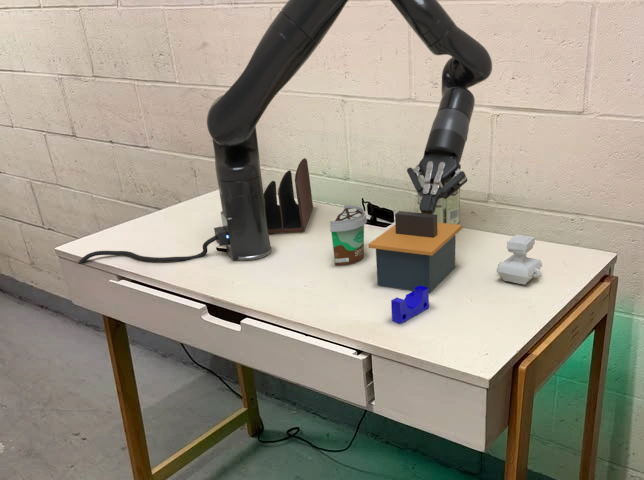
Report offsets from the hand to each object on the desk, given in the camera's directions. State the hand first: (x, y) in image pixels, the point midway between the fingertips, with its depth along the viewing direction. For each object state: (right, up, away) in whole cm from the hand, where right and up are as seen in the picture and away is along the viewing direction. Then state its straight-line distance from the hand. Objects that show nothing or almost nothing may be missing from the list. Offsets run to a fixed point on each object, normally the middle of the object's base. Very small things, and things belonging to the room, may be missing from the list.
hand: (425, 214), depth 138 cm
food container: (-15, -7, +12) cm, 20 cm away
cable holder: (-4, -21, -13) cm, 25 cm away
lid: (-2, -5, -2) cm, 6 cm away
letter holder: (-32, +6, +37) cm, 50 cm away
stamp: (+18, -14, -2) cm, 23 cm away
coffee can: (+5, +3, +29) cm, 30 cm away
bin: (-2, -12, +2) cm, 12 cm away
